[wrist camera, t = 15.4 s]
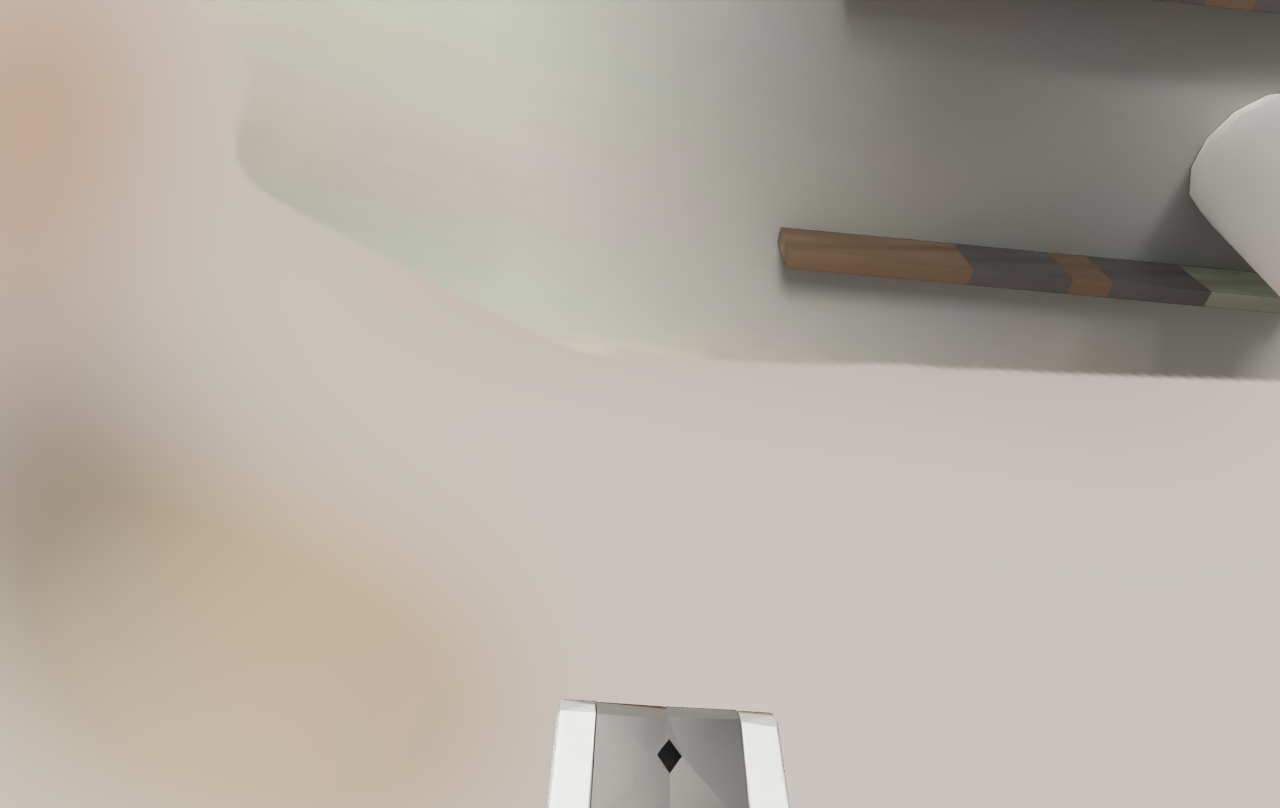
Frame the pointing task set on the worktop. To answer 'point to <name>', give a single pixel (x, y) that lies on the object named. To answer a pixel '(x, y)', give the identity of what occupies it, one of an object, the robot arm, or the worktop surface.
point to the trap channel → (1034, 259)
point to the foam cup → (1244, 184)
